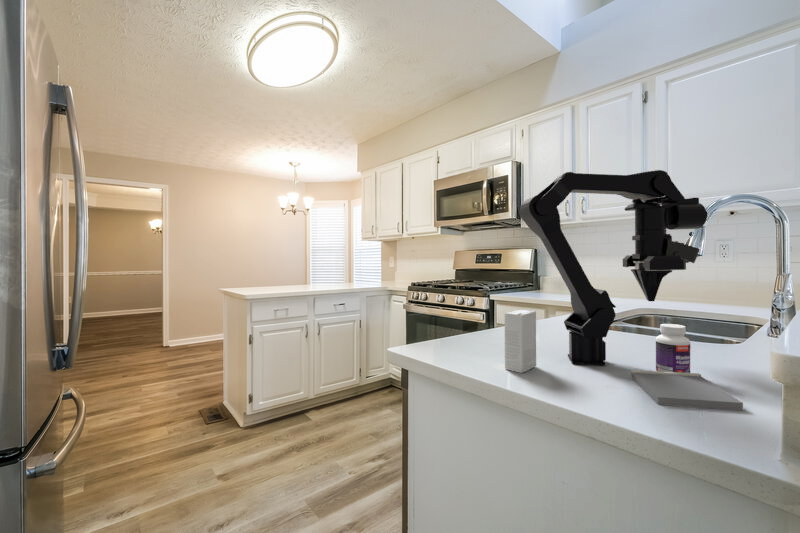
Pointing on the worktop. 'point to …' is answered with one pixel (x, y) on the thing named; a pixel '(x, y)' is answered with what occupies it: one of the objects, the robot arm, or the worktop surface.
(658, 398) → the mat
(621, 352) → the worktop surface
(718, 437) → the worktop surface
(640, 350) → the worktop surface
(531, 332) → the skincare box
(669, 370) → the pill bottle
